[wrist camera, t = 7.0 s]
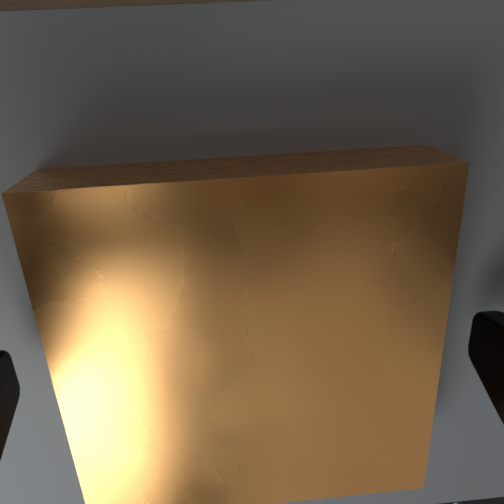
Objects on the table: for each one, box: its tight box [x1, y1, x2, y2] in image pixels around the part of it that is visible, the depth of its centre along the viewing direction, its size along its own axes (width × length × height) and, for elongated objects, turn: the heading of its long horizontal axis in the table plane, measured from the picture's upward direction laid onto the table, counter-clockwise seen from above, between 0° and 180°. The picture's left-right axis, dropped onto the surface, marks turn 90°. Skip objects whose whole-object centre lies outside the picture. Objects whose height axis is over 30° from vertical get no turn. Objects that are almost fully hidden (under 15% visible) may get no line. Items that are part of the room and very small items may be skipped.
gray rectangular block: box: [0, 0, 504, 504], centre depth 12 cm, size 12×18×5 cm, turn 93°
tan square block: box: [1, 144, 469, 504], centre depth 11 cm, size 7×7×6 cm
